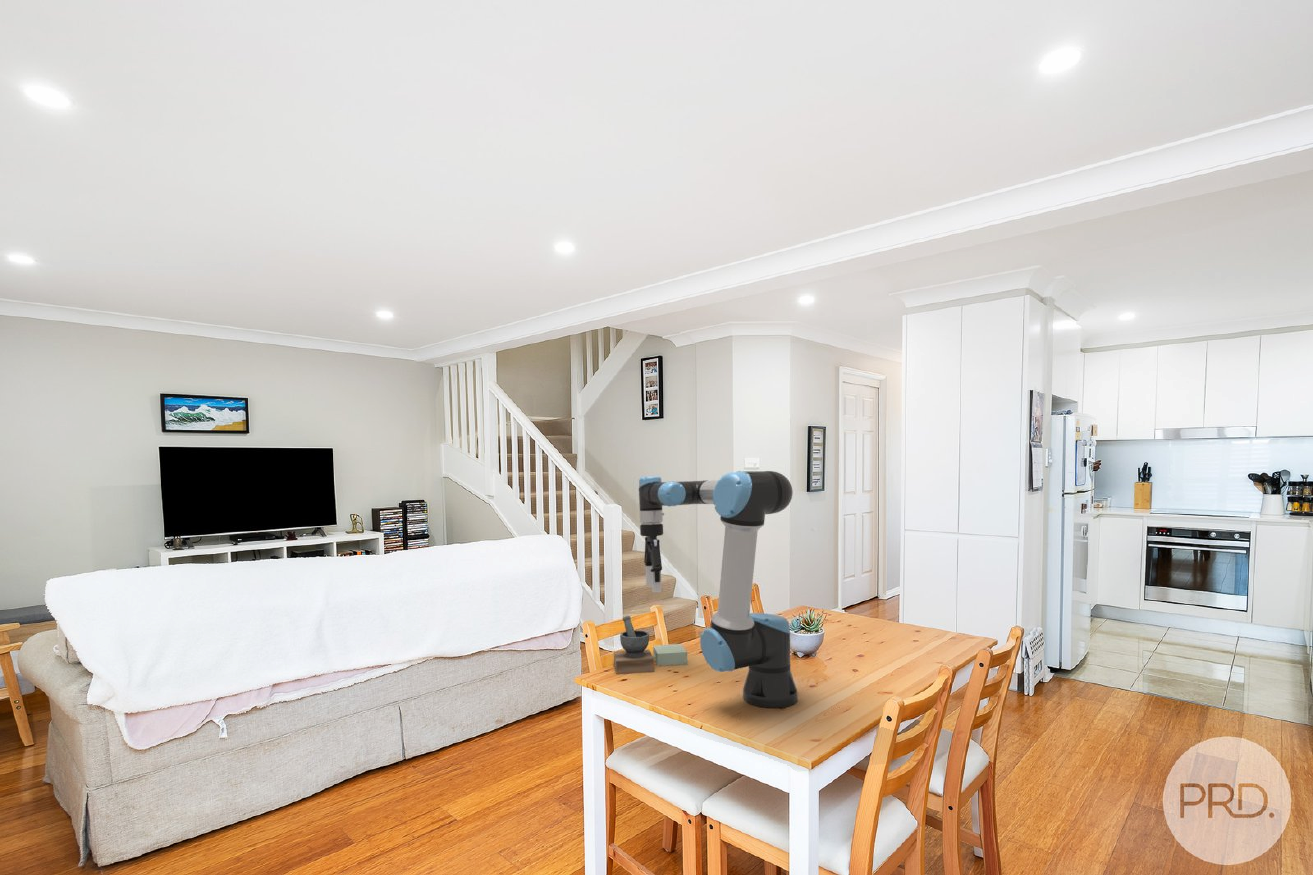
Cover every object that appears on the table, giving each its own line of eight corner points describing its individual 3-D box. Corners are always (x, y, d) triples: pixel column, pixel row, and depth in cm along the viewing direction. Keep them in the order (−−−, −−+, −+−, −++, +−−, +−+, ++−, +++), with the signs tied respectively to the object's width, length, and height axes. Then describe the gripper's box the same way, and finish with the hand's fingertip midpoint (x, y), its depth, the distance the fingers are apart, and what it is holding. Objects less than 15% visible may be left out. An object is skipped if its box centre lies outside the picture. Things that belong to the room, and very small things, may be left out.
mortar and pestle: (655, 656, 209) (654, 619, 210) (631, 661, 204) (630, 623, 205) (636, 648, 219) (636, 612, 219) (612, 653, 213) (612, 616, 214)
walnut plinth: (653, 671, 206) (653, 659, 206) (616, 674, 204) (616, 661, 205) (649, 661, 217) (649, 649, 217) (613, 663, 215) (613, 651, 215)
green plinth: (687, 664, 213) (687, 652, 213) (657, 666, 212) (657, 653, 212) (681, 655, 223) (681, 643, 223) (653, 657, 222) (653, 645, 222)
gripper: (669, 525, 200) (672, 594, 198) (656, 520, 224) (658, 582, 223) (646, 526, 198) (648, 596, 197) (634, 521, 223) (636, 583, 221)
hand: (653, 589), depth 210 cm, fingers open, 13 cm apart
